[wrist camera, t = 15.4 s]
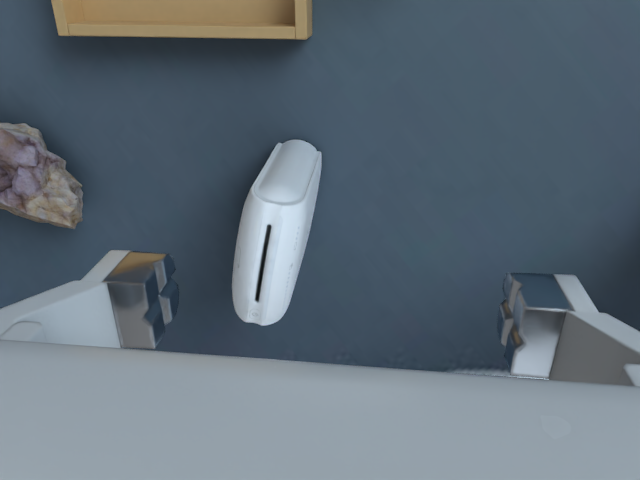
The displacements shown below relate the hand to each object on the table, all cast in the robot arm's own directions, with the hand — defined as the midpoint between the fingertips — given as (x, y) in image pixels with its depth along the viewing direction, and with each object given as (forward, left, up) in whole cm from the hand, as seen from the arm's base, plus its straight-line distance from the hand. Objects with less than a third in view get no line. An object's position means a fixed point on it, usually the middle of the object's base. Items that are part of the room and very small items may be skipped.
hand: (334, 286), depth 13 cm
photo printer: (+6, +10, -29) cm, 32 cm away
